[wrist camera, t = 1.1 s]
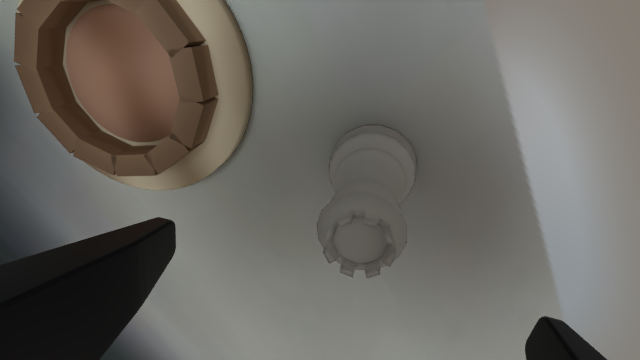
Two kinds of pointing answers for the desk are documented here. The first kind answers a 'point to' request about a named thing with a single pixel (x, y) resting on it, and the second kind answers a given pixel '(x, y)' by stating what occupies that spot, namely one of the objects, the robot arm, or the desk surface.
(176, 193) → the desk surface
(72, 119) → the well tray
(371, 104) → the desk surface
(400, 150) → the rook chess piece
